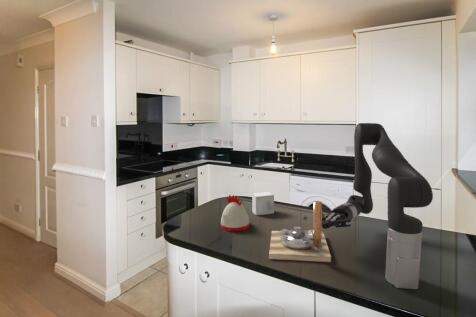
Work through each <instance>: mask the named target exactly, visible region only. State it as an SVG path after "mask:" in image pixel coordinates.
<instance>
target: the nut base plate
mask: <svg viewBox="0 0 476 317" xmlns="http://www.w3.org/2000/svg"><path fill="white" fill-rule="evenodd" d="M326 239H327V238H326V237H325V234H324V232H322V240H321V246H322V250H319V251H317V250H315V249H314V248H311V249H306V250H296V249H290V248H287V247H285V246H283V245H282V244H281V230H271V234H270V243H269V253H268V259H269V260H283V261H284V260H285V261H301V262H302V261H303V262H320V263H321V262H323V263H325V262H326V263H331V262H332V255H331V252H330V249H329V246H328V243H327V240H326Z"/></svg>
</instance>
